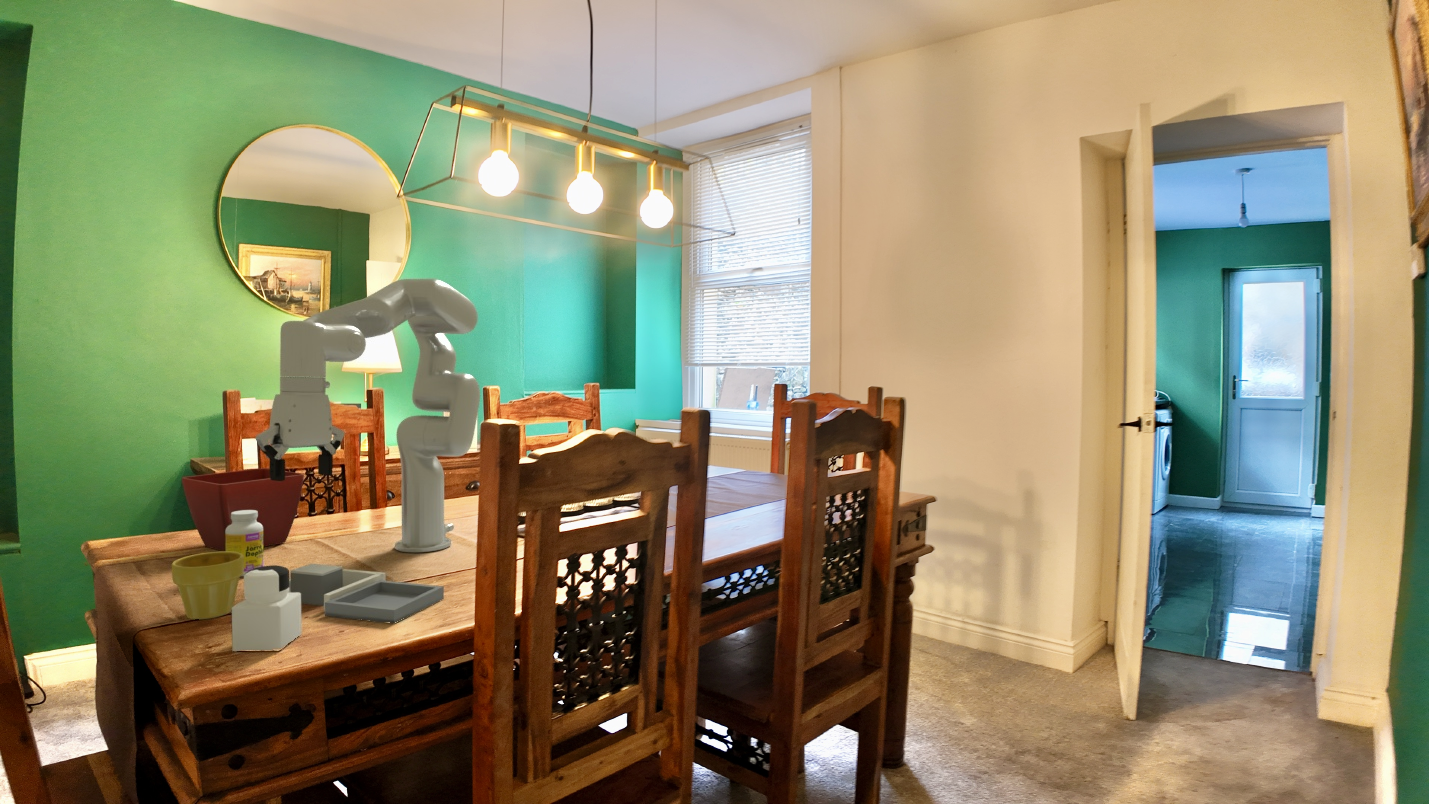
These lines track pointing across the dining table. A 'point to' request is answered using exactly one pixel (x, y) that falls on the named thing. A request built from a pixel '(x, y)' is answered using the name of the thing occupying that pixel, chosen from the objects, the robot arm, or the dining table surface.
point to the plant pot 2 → (208, 582)
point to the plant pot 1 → (242, 503)
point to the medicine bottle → (266, 611)
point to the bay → (352, 582)
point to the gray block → (316, 582)
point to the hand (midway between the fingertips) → (302, 477)
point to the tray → (384, 601)
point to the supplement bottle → (246, 538)
